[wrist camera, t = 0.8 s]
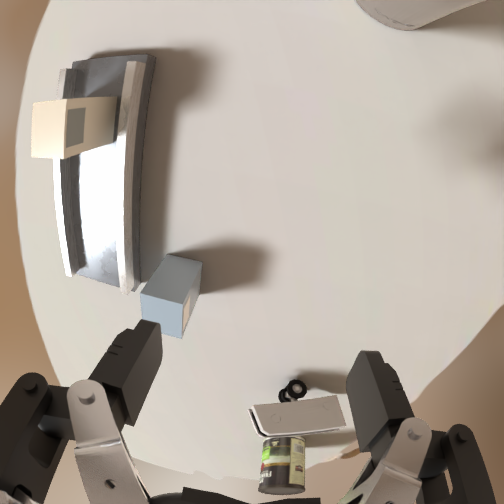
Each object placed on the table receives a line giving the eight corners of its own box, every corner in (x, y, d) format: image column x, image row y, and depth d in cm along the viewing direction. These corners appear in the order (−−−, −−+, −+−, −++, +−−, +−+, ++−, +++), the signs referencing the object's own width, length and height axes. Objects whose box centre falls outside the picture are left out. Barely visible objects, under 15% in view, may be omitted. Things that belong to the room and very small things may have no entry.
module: (166, 253, 33) (139, 292, 26) (203, 262, 33) (183, 304, 26) (165, 286, 35) (142, 327, 28) (199, 294, 35) (182, 339, 28)
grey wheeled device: (331, 375, 43) (249, 381, 39) (348, 425, 36) (261, 442, 31) (320, 384, 46) (242, 391, 41) (335, 432, 39) (252, 447, 34)
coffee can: (257, 445, 58) (252, 492, 45) (271, 431, 53) (267, 486, 40) (295, 450, 58) (293, 496, 46) (312, 436, 53) (313, 488, 41)
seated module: (84, 97, 22) (32, 102, 15) (117, 96, 22) (67, 98, 15) (81, 141, 25) (31, 157, 18) (113, 142, 25) (63, 159, 18)
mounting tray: (83, 62, 22) (61, 61, 18) (156, 57, 22) (138, 51, 18) (82, 266, 35) (67, 281, 32) (140, 283, 35) (128, 301, 32)
